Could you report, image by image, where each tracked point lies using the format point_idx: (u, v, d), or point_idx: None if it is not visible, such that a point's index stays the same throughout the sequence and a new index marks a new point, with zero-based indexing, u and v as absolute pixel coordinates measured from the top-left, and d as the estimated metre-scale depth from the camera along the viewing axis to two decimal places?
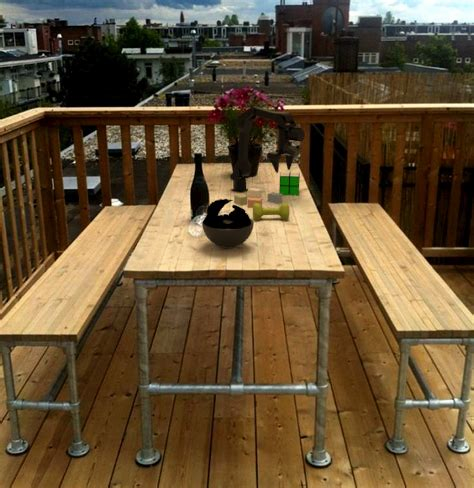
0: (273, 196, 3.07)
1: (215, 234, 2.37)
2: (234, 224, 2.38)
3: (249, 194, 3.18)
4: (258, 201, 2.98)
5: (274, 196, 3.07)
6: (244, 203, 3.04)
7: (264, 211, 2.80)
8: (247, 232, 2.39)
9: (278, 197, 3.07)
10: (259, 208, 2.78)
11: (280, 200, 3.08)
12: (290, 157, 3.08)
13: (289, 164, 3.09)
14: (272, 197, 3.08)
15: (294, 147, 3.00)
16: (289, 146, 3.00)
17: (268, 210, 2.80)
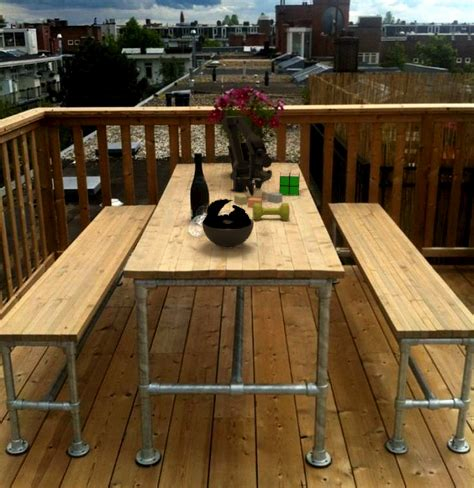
0: (273, 196, 3.07)
1: (215, 234, 2.37)
2: (234, 224, 2.38)
3: (249, 194, 3.18)
4: (258, 201, 2.98)
5: (274, 196, 3.07)
6: (244, 203, 3.04)
7: (264, 211, 2.80)
8: (247, 232, 2.39)
9: (278, 197, 3.07)
10: (259, 208, 2.78)
11: (280, 200, 3.09)
12: (259, 182, 3.18)
13: (258, 188, 3.19)
14: (272, 197, 3.08)
15: (265, 172, 3.11)
16: (260, 171, 3.11)
17: (268, 210, 2.80)
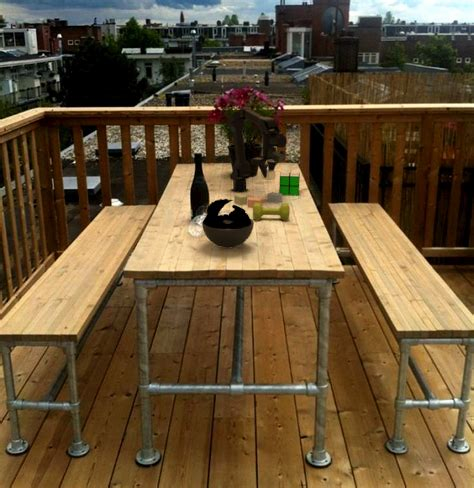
0: (273, 196, 3.07)
1: (215, 234, 2.37)
2: (234, 224, 2.38)
3: (262, 176, 3.09)
4: (258, 201, 2.98)
5: (274, 196, 3.07)
6: (244, 203, 3.04)
7: (264, 211, 2.80)
8: (247, 232, 2.39)
9: (278, 197, 3.07)
10: (259, 208, 2.78)
11: (280, 200, 3.09)
12: (272, 163, 3.09)
13: None
14: (272, 197, 3.08)
15: (278, 153, 3.02)
16: (273, 152, 3.02)
17: (268, 210, 2.80)
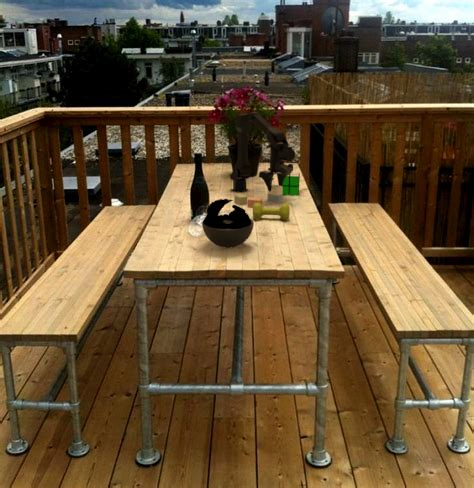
0: (273, 196, 3.07)
1: (215, 234, 2.37)
2: (234, 224, 2.38)
3: (269, 191, 3.08)
4: (258, 201, 2.98)
5: (275, 196, 3.07)
6: (244, 203, 3.04)
7: (264, 211, 2.80)
8: (247, 232, 2.39)
9: (279, 197, 3.07)
10: (258, 208, 2.79)
11: (280, 200, 3.09)
12: (282, 175, 3.09)
13: (281, 182, 3.10)
14: (272, 197, 3.08)
15: (286, 166, 3.01)
16: (281, 165, 3.01)
17: (268, 210, 2.80)
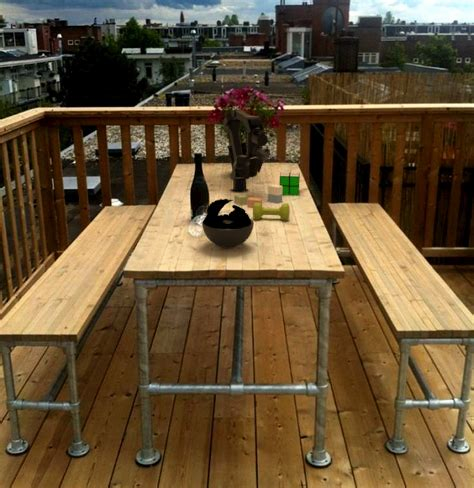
0: (273, 196, 3.07)
1: (215, 234, 2.37)
2: (234, 224, 2.38)
3: (269, 191, 3.08)
4: (258, 201, 2.97)
5: (275, 196, 3.07)
6: (244, 203, 3.04)
7: (264, 211, 2.80)
8: (247, 232, 2.39)
9: (279, 197, 3.07)
10: (258, 208, 2.79)
11: (280, 200, 3.09)
12: (260, 160, 3.14)
13: (259, 167, 3.15)
14: (272, 196, 3.08)
15: (263, 150, 3.06)
16: (258, 149, 3.06)
17: (268, 210, 2.80)
